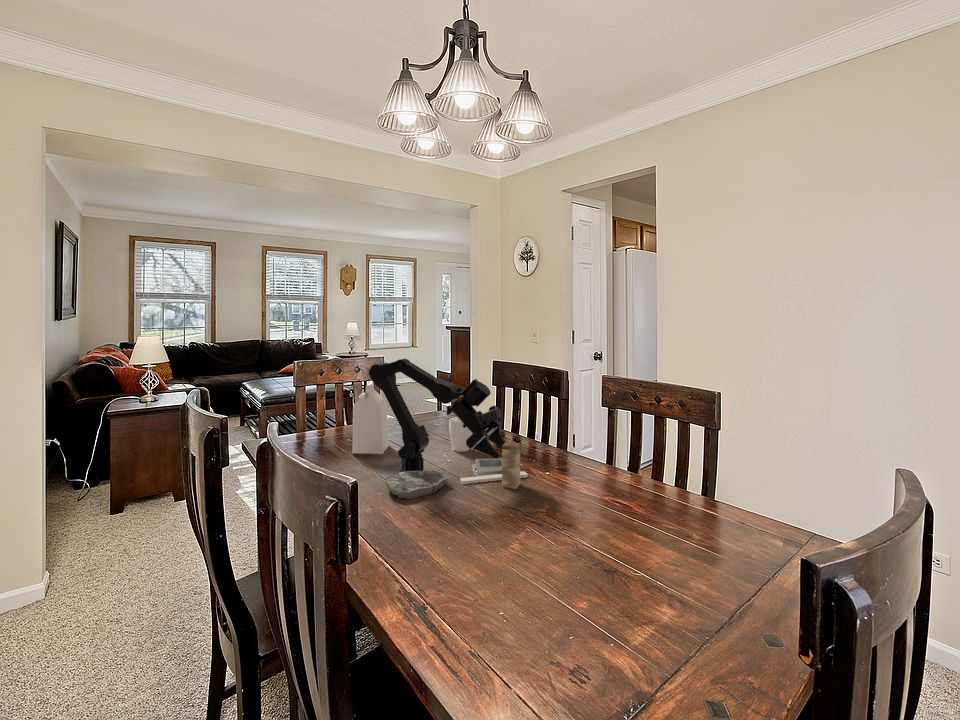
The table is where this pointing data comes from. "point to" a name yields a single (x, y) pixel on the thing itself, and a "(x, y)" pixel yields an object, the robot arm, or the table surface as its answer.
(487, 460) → the keeper
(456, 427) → the cup
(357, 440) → the milk
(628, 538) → the table surface
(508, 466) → the block
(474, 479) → the door edge strip
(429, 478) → the brain slice
